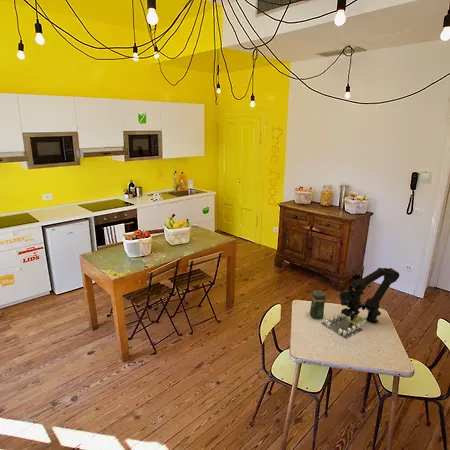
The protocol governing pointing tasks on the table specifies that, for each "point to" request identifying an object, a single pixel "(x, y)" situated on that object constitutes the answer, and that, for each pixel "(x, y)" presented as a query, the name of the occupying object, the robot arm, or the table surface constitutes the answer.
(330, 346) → the table surface
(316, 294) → the coffee jar
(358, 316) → the gear
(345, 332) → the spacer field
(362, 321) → the tray
